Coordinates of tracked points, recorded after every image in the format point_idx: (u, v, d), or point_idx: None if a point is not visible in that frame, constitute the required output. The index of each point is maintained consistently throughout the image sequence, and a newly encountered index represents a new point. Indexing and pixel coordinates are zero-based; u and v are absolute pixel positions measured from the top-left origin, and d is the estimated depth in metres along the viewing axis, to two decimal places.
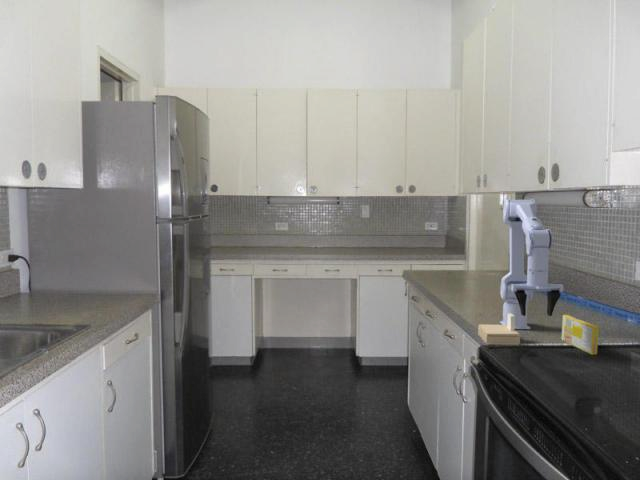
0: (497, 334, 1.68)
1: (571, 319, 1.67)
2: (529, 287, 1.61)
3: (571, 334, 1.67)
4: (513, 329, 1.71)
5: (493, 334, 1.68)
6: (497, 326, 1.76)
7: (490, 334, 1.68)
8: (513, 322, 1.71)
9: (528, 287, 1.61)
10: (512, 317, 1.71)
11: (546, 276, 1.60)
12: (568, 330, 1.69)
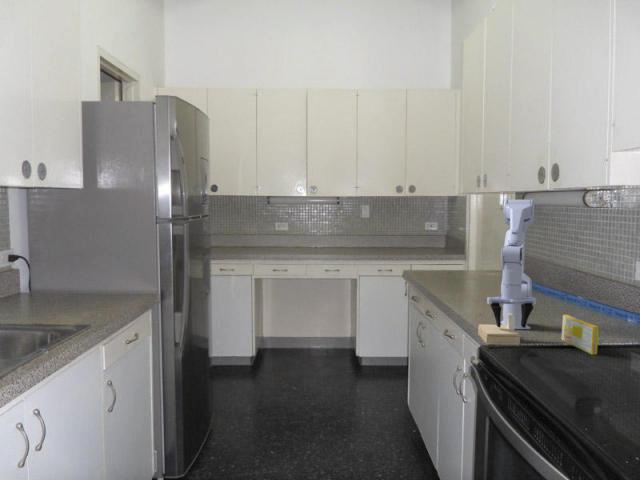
0: (497, 334, 1.68)
1: (571, 319, 1.67)
2: (503, 300, 1.70)
3: (571, 334, 1.67)
4: (513, 329, 1.71)
5: (493, 334, 1.68)
6: None
7: (490, 334, 1.68)
8: (513, 322, 1.71)
9: (502, 300, 1.70)
10: (512, 317, 1.71)
11: (519, 290, 1.70)
12: (568, 330, 1.69)
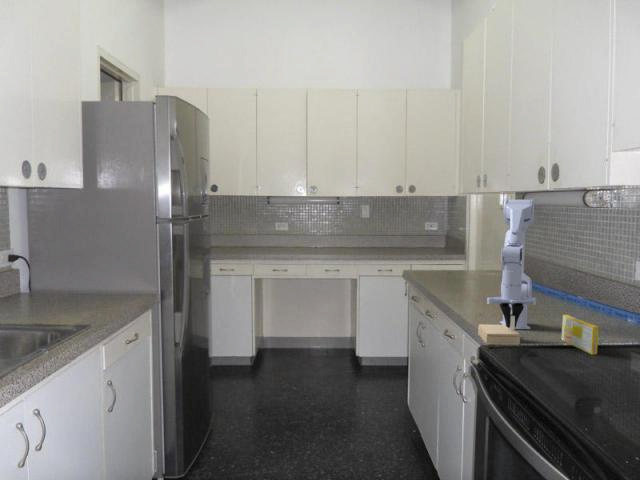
0: (497, 334, 1.68)
1: (571, 319, 1.67)
2: (503, 300, 1.70)
3: (571, 334, 1.67)
4: (513, 329, 1.71)
5: (493, 334, 1.68)
6: (497, 326, 1.76)
7: (490, 334, 1.68)
8: (513, 322, 1.71)
9: (502, 300, 1.70)
10: (512, 317, 1.71)
11: (519, 290, 1.70)
12: (568, 330, 1.69)
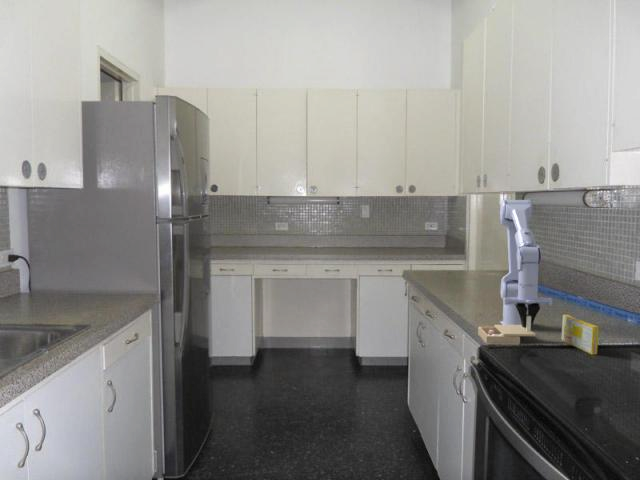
0: (513, 334, 1.67)
1: (571, 319, 1.67)
2: (520, 301, 1.70)
3: (571, 334, 1.67)
4: (529, 329, 1.71)
5: (509, 334, 1.67)
6: (513, 326, 1.76)
7: (506, 334, 1.68)
8: (529, 322, 1.70)
9: (519, 301, 1.70)
10: (528, 317, 1.70)
11: (536, 290, 1.69)
12: (568, 330, 1.69)
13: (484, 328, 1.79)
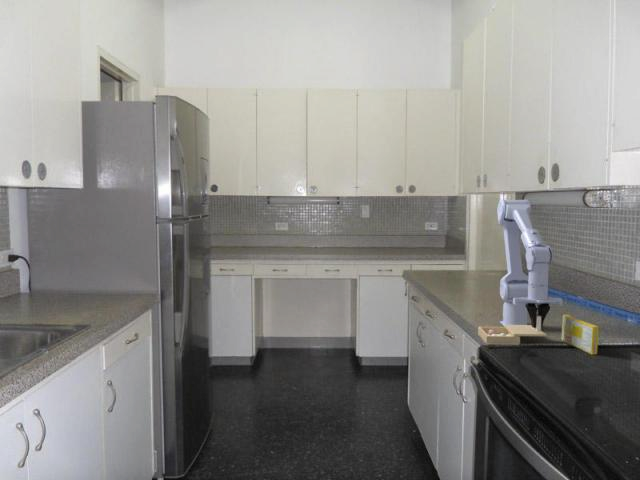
0: (524, 334, 1.67)
1: (571, 319, 1.67)
2: (530, 301, 1.70)
3: (571, 334, 1.67)
4: (539, 329, 1.70)
5: (520, 334, 1.67)
6: (522, 326, 1.76)
7: (517, 334, 1.67)
8: (539, 322, 1.70)
9: (529, 301, 1.70)
10: (538, 317, 1.70)
11: (546, 290, 1.69)
12: (568, 330, 1.69)
13: (484, 328, 1.79)
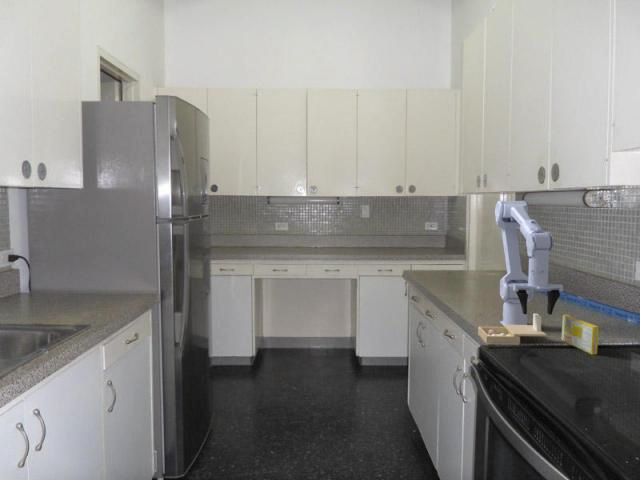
0: (524, 334, 1.67)
1: (571, 319, 1.67)
2: (530, 287, 1.69)
3: (571, 334, 1.67)
4: (539, 329, 1.70)
5: (520, 334, 1.67)
6: (522, 326, 1.76)
7: (517, 334, 1.67)
8: (539, 322, 1.70)
9: (529, 287, 1.69)
10: (538, 317, 1.70)
11: (546, 277, 1.69)
12: (568, 330, 1.69)
13: (484, 328, 1.79)
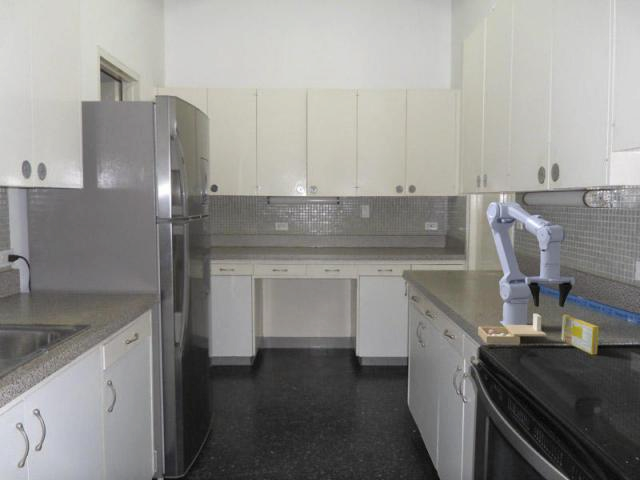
0: (524, 334, 1.67)
1: (571, 319, 1.67)
2: (542, 279, 1.71)
3: (571, 334, 1.67)
4: (539, 329, 1.70)
5: (520, 334, 1.67)
6: (522, 326, 1.76)
7: (517, 334, 1.67)
8: (539, 322, 1.70)
9: (541, 279, 1.71)
10: (538, 317, 1.70)
11: (558, 269, 1.70)
12: (568, 330, 1.69)
13: (484, 328, 1.79)
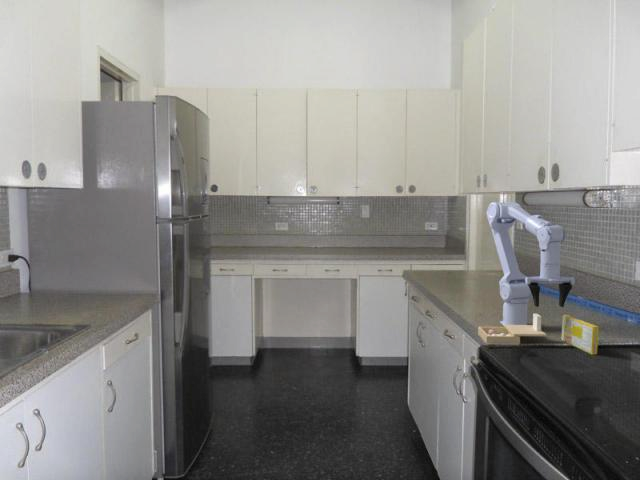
0: (524, 334, 1.67)
1: (571, 319, 1.67)
2: (542, 279, 1.71)
3: (571, 334, 1.67)
4: (539, 329, 1.70)
5: (520, 334, 1.67)
6: (522, 326, 1.76)
7: (517, 334, 1.67)
8: (539, 322, 1.70)
9: (541, 279, 1.71)
10: (538, 317, 1.70)
11: (558, 269, 1.70)
12: (568, 330, 1.69)
13: (484, 328, 1.79)
